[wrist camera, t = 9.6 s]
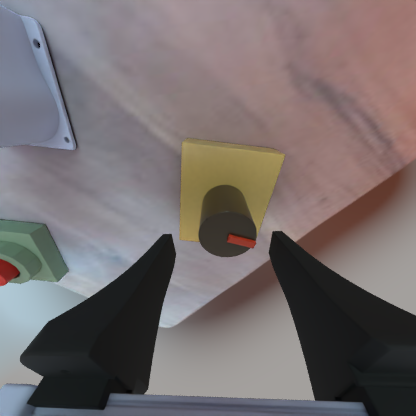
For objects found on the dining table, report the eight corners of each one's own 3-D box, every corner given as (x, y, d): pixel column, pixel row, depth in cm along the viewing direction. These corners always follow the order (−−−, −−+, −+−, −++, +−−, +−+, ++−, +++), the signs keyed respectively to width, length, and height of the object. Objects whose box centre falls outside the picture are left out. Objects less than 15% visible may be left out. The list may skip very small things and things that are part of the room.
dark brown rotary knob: (197, 216, 17) (191, 253, 12) (209, 179, 15) (207, 206, 10) (236, 226, 17) (243, 265, 13) (252, 191, 15) (269, 223, 11)
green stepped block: (-14, 217, 22) (-56, 236, 19) (45, 224, 22) (13, 243, 19) (21, 266, 27) (-7, 287, 24) (68, 270, 27) (47, 293, 24)
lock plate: (187, 137, 16) (181, 142, 13) (274, 148, 16) (285, 154, 14) (183, 225, 21) (179, 240, 19) (248, 232, 22) (253, 247, 19)
